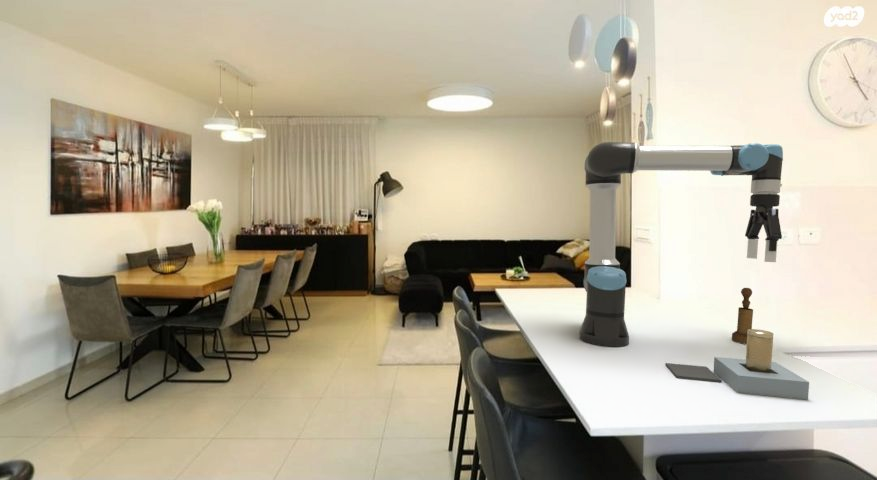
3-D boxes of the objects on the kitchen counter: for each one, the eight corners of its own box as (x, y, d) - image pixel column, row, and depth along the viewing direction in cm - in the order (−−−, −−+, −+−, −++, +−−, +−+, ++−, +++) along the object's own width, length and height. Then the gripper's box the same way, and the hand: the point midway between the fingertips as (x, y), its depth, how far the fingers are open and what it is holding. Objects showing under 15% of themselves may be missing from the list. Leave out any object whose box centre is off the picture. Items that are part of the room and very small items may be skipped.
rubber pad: (676, 378, 108) (676, 375, 108) (665, 365, 118) (665, 362, 118) (721, 382, 106) (721, 380, 106) (706, 368, 116) (706, 366, 116)
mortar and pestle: (759, 345, 140) (763, 290, 139) (737, 343, 141) (740, 288, 140) (749, 339, 147) (752, 286, 146) (728, 338, 148) (731, 285, 147)
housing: (737, 392, 100) (738, 375, 100) (713, 371, 114) (714, 356, 113) (808, 399, 97) (809, 382, 97) (774, 377, 110) (775, 362, 110)
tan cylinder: (750, 387, 103) (753, 333, 103) (740, 379, 108) (743, 328, 108) (774, 389, 102) (777, 335, 102) (763, 382, 107) (766, 330, 106)
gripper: (799, 191, 126) (793, 264, 127) (761, 196, 150) (757, 257, 151) (769, 191, 128) (764, 262, 129) (736, 196, 152) (732, 256, 153)
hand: (760, 260), depth 140 cm, fingers open, 13 cm apart
